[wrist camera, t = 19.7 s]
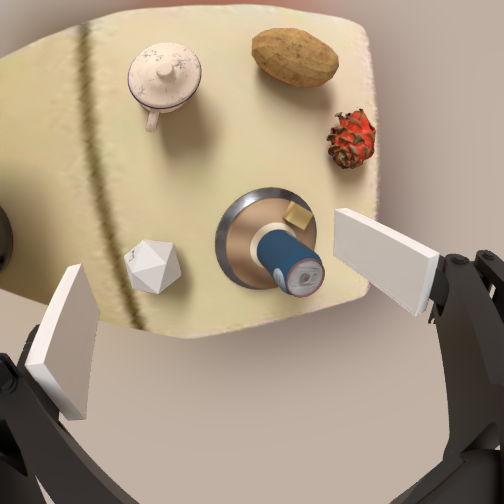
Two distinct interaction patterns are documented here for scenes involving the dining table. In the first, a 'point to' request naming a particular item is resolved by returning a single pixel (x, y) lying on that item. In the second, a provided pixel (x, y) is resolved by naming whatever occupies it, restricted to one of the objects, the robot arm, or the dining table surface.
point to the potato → (294, 57)
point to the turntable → (255, 227)
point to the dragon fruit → (352, 140)
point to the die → (152, 266)
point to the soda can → (290, 263)
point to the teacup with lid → (163, 79)
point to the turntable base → (235, 209)
